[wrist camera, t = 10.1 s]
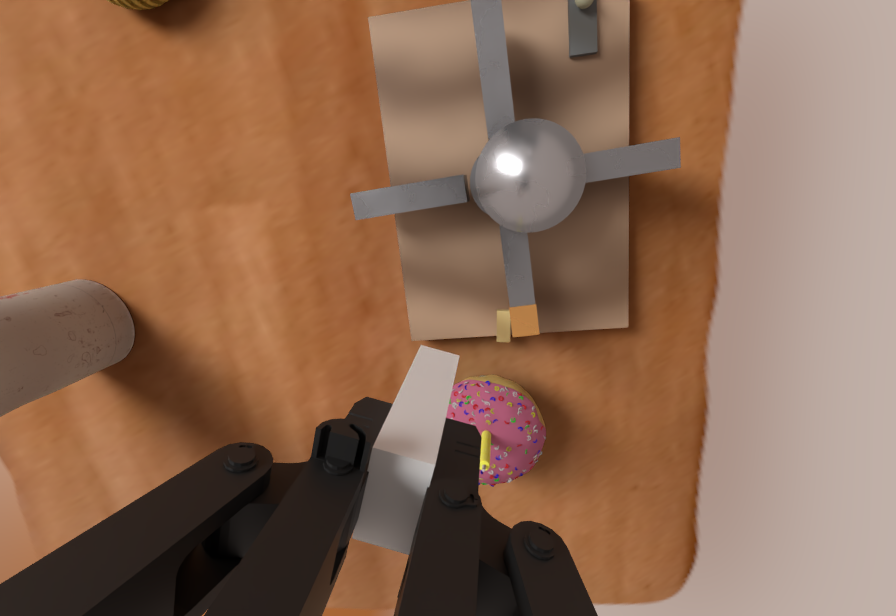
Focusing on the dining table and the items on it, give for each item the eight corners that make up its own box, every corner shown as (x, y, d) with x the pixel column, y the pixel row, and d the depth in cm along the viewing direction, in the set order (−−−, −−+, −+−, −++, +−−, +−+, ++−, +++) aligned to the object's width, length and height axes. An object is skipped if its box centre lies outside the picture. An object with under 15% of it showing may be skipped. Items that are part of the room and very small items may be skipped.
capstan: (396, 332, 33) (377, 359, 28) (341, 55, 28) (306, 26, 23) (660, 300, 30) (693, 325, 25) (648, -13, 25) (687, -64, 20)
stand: (376, 27, 30) (360, 7, 26) (620, -12, 28) (637, -40, 24) (416, 337, 36) (408, 354, 32) (620, 324, 33) (634, 340, 30)
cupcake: (435, 354, 36) (405, 435, 24) (540, 353, 35) (560, 436, 23) (441, 446, 38) (417, 559, 27) (540, 447, 37) (559, 565, 26)
